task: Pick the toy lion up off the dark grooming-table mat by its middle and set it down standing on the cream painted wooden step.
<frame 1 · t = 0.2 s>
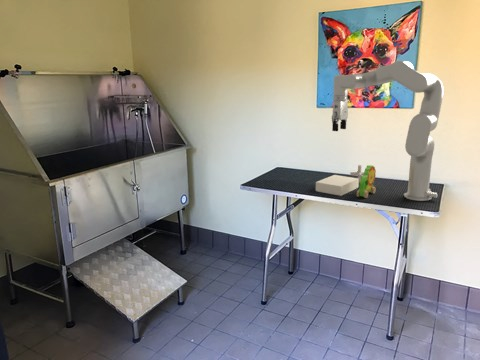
hand: (339, 130, 220), 31 cm above the table, tool pointing down, fingers open, 9 cm apart
pipe connector: (358, 182, 230), on the table
cream step: (337, 189, 217), on the table
toy lion: (366, 195, 206), on the table
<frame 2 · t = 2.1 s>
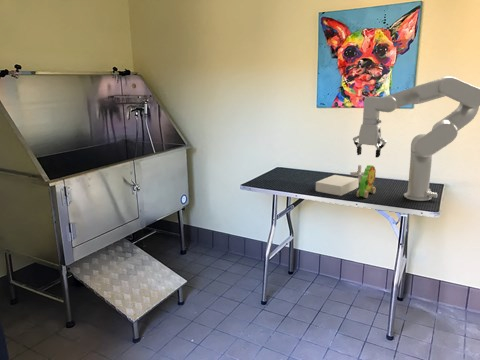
hand: (368, 155, 201), 20 cm above the table, tool pointing down, fingers open, 9 cm apart
nothing on the table moved.
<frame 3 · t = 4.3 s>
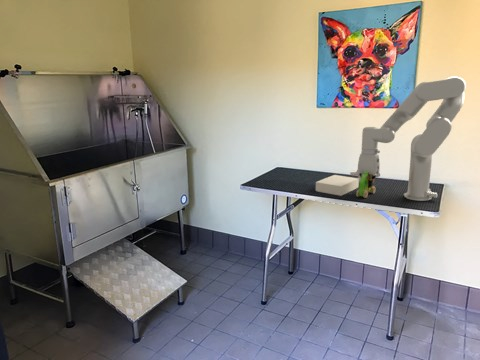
hand: (367, 186, 205), 4 cm above the table, tool pointing down, fingers closed on toy lion
toy lion: (366, 194, 206), on the table, touching gripper
everything else where it was.
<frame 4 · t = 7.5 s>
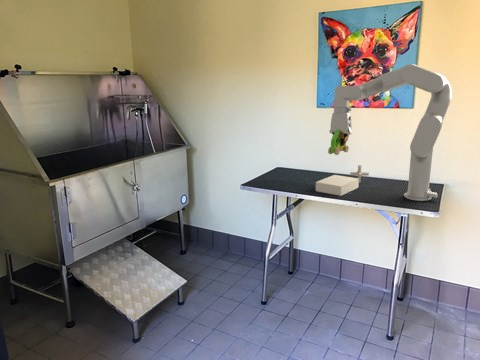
hand: (339, 145, 211), 24 cm above the table, tool pointing down, fingers closed on toy lion
toy lion: (339, 153, 212), point 20 cm above the table, touching gripper
everything else where it was.
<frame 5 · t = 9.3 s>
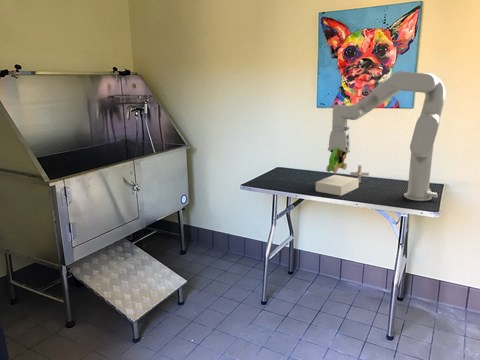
hand: (338, 162, 213), 15 cm above the table, tool pointing down, fingers closed on toy lion
toy lion: (337, 170, 215), point 10 cm above the table, touching gripper
everything else where it was.
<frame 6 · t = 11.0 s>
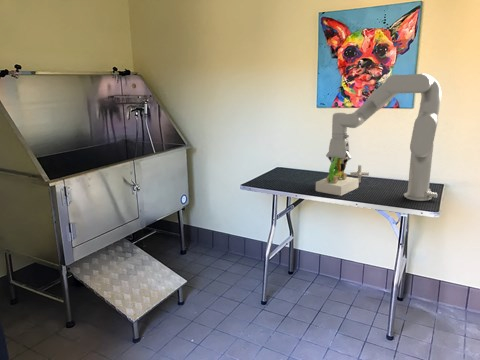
hand: (337, 169, 214), 11 cm above the table, tool pointing down, fingers open, 4 cm apart
toy lion: (337, 180, 216), point 5 cm above the table, touching cream step
everything else where it was.
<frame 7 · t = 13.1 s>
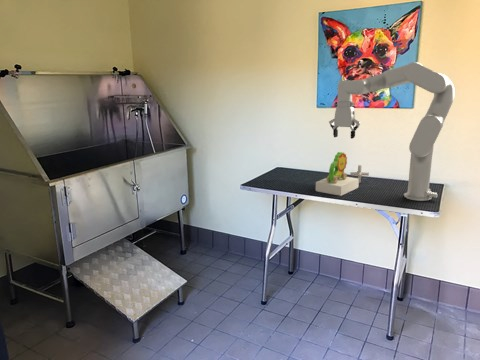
hand: (343, 137, 210), 28 cm above the table, tool pointing down, fingers open, 9 cm apart
nothing on the table moved.
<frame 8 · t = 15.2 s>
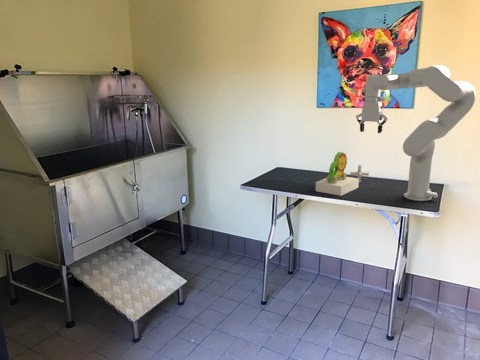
hand: (370, 132, 212), 30 cm above the table, tool pointing down, fingers open, 9 cm apart
nothing on the table moved.
at the end: toy lion inside the target area on the cream step (0.1 cm from its centre), point 4.8 cm above the cream step's base; toy lion tilted 0°; the gripper is holding nothing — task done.
